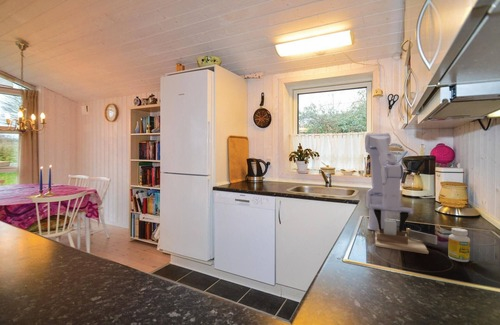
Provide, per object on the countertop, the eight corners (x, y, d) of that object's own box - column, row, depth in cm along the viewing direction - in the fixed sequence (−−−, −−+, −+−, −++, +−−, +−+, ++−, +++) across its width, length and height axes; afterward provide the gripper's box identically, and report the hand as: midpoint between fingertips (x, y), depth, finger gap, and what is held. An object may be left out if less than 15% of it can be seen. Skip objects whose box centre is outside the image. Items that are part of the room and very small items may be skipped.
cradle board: (375, 232, 108) (375, 224, 108) (419, 238, 101) (419, 230, 100) (375, 245, 91) (375, 236, 91) (428, 254, 84) (428, 244, 84)
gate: (405, 236, 99) (405, 228, 99) (407, 236, 99) (407, 227, 99) (435, 244, 90) (435, 235, 90) (437, 244, 91) (437, 234, 91)
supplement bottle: (457, 255, 84) (459, 226, 84) (474, 262, 79) (475, 231, 78) (443, 255, 83) (444, 227, 83) (459, 262, 78) (460, 232, 78)
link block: (383, 236, 100) (384, 219, 100) (395, 238, 98) (395, 220, 98) (384, 239, 96) (384, 221, 96) (396, 241, 95) (396, 222, 94)
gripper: (370, 195, 96) (369, 230, 97) (414, 198, 90) (413, 235, 90) (370, 192, 103) (369, 225, 103) (412, 195, 96) (410, 230, 97)
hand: (390, 230), depth 97 cm, fingers open, 6 cm apart
